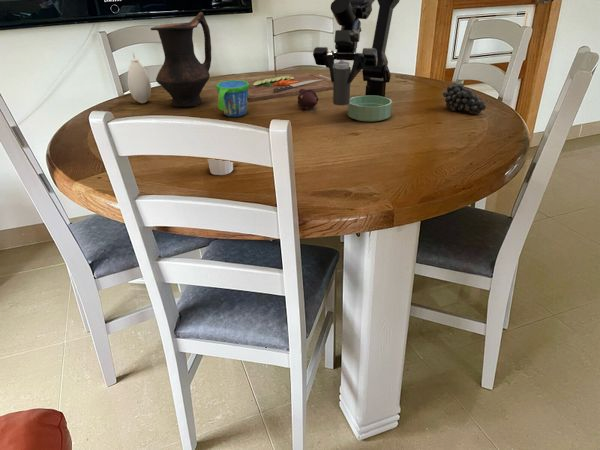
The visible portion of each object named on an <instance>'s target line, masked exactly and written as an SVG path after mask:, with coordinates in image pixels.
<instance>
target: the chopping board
mask: <svg viewBox="0 0 600 450" xmlns="http://www.w3.org/2000/svg"><path fill="white" fill-rule="evenodd" d="M245 81H246V82H248V83H249V88H248V94H249V97H248V98H247V102H258V101H266V100H270V99H278V98H283V97H291V96H297V95H298V96H299V90H300V89H305V90H309V89H311V90H312V91H314V92H315V93H317V92H322V91H323V92H325V91H329V90H333V82H331V77H327V76H325V75H323V74H318V75H317V74H315V73H311V72H301V73H295V74H287V75H281V76H272V77H265V78H256V79H249V80H245Z"/></svg>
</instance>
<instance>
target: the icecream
mask: <svg viewBox="0 0 600 450" xmlns="http://www.w3.org/2000/svg"><path fill="white" fill-rule="evenodd" d="M319 100H320V99H319V96H318V95H317V92H314V91H312V90H311V89H309V90H305V89H300V90H299V94H298V96H297V101H296V103H297V105H299V107H300V108H301V109H303V110H305V111H310V110H313V109H315V107H316V106H317V105H318V101H319Z"/></svg>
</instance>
